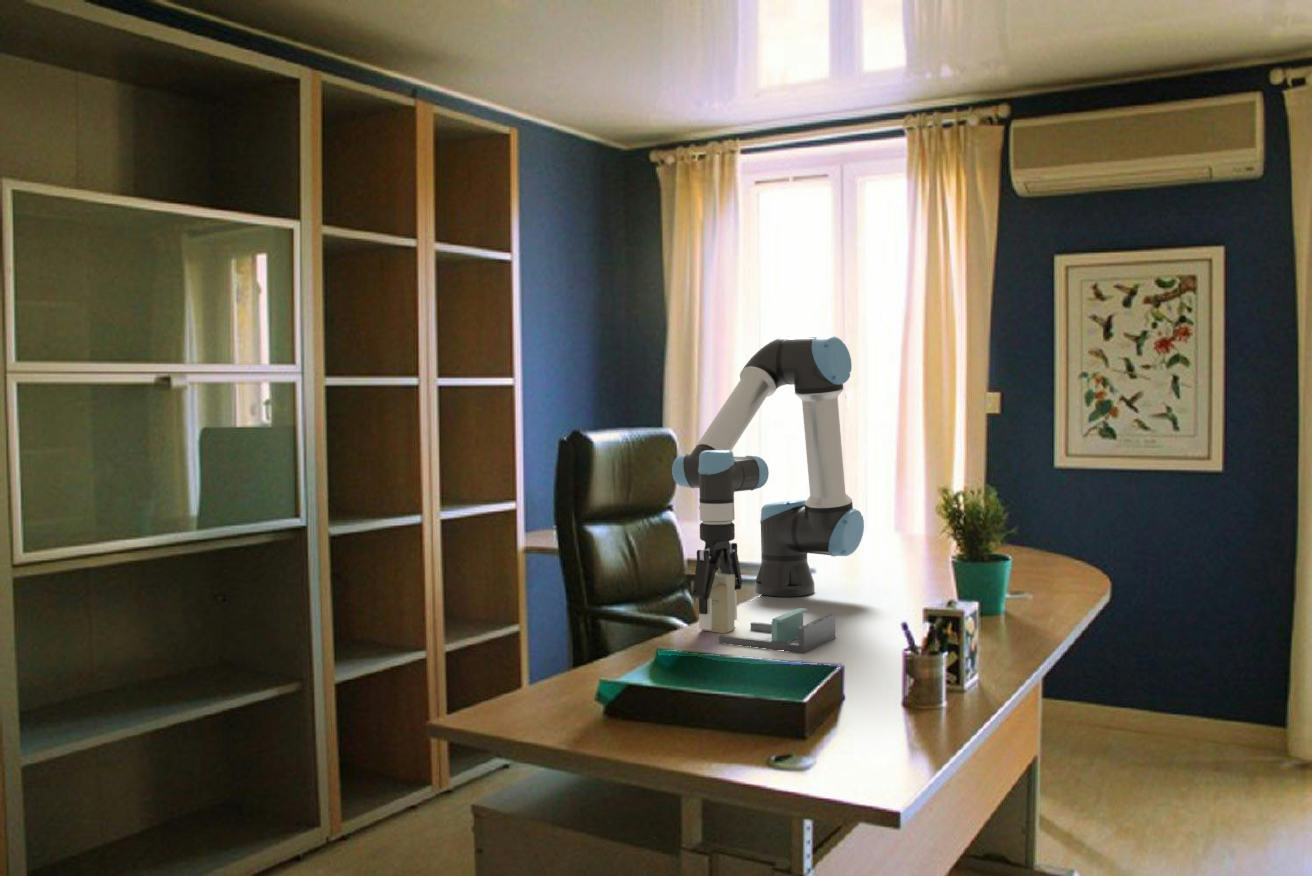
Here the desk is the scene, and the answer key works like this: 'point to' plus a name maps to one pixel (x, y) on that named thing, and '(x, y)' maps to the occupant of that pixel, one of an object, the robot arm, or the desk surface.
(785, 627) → the block
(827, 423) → the robot arm
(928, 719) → the desk surface
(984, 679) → the desk surface
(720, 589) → the skincare box
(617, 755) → the desk surface
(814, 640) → the lane
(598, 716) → the desk surface
